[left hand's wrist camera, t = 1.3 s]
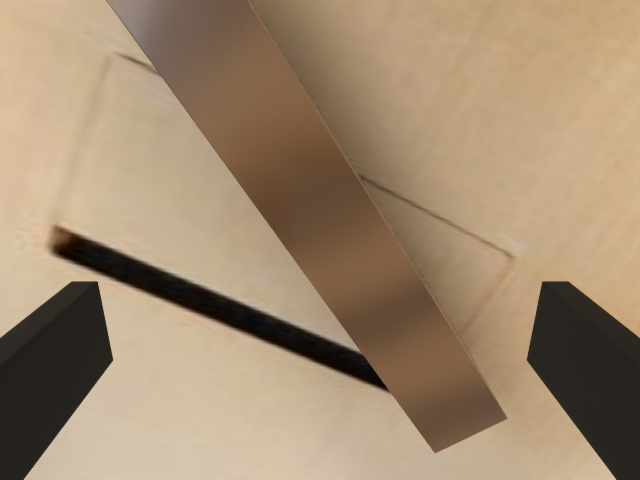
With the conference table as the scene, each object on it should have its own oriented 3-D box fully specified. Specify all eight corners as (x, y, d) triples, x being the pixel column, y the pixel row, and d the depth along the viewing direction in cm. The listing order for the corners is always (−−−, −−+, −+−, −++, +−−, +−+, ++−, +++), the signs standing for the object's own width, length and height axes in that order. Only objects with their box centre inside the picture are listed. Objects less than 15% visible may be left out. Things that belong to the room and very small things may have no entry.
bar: (471, 355, 36) (507, 418, 29) (412, 385, 37) (435, 453, 30) (-157, -655, 18) (-445, -1107, 11) (-237, -545, 19) (-546, -898, 12)
